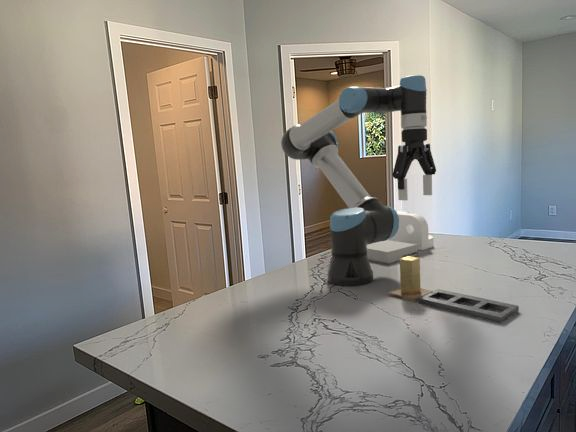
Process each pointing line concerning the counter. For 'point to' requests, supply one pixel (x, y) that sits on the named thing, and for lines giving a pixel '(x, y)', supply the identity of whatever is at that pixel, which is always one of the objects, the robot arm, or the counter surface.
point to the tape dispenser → (413, 230)
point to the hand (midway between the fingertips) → (415, 197)
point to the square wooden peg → (410, 275)
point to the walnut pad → (408, 296)
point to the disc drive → (390, 251)
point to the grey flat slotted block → (474, 311)
